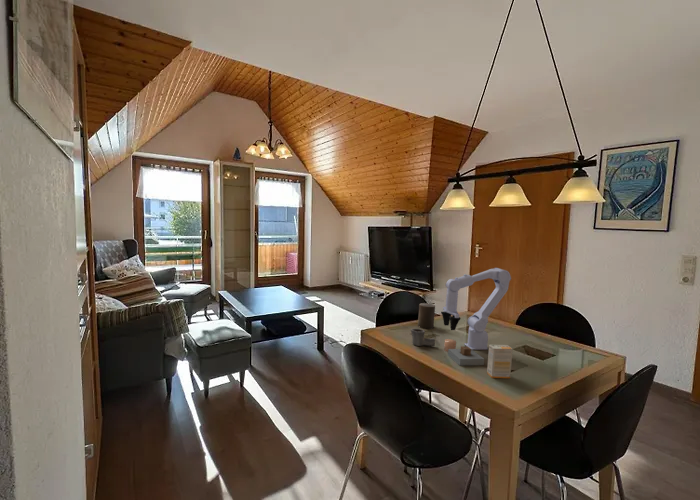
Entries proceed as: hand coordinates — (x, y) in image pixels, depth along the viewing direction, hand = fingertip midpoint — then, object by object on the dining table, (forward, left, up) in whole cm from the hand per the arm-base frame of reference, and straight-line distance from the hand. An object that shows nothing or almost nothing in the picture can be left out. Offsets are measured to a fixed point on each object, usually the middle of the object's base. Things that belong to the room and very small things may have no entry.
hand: (449, 327), depth 177 cm
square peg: (0, +18, -10) cm, 21 cm away
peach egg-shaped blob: (+2, +6, -10) cm, 12 cm away
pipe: (+14, -1, -10) cm, 17 cm away
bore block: (0, +18, -10) cm, 21 cm away
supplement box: (-6, +35, -10) cm, 37 cm away
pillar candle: (-1, -33, -10) cm, 35 cm away
